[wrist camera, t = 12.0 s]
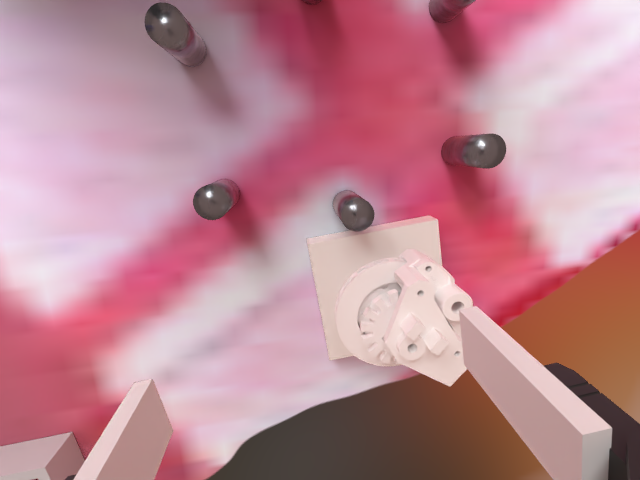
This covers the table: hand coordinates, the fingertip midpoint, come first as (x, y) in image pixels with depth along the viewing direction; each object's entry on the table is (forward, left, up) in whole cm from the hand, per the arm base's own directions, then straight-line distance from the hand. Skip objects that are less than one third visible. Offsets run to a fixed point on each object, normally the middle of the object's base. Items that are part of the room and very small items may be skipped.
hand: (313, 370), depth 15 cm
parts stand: (+8, +8, -25) cm, 27 cm away
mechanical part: (+8, +8, -23) cm, 25 cm away
